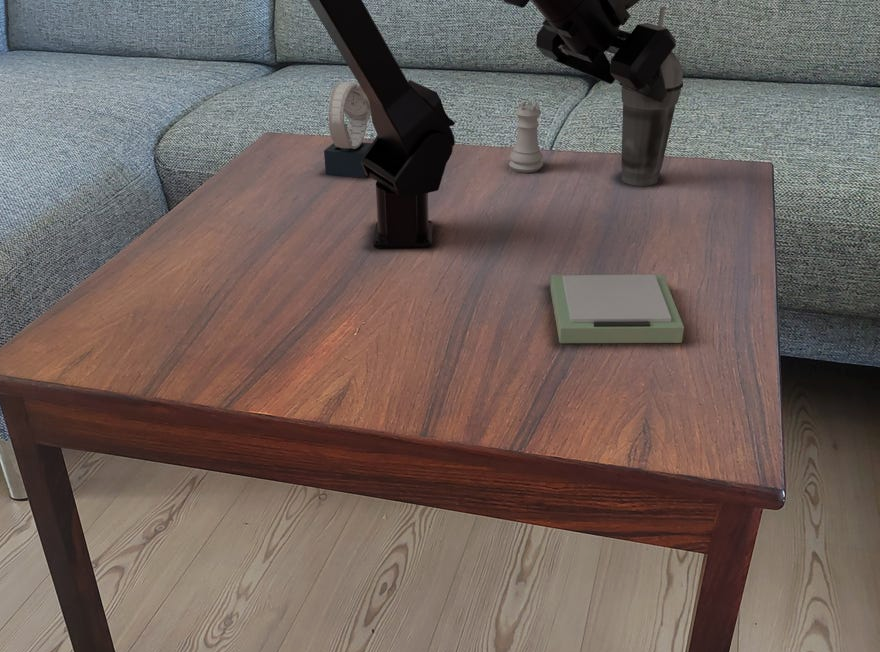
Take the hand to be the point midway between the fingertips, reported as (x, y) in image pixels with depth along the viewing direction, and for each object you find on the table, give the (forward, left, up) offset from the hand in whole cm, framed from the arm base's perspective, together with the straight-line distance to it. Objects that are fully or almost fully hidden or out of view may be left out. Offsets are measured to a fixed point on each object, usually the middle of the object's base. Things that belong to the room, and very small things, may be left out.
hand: (637, 89), depth 110 cm
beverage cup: (+1, -2, -11) cm, 12 cm away
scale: (-35, +6, -11) cm, 37 cm away
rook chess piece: (+6, +12, -11) cm, 18 cm away
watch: (+6, +35, -11) cm, 38 cm away
